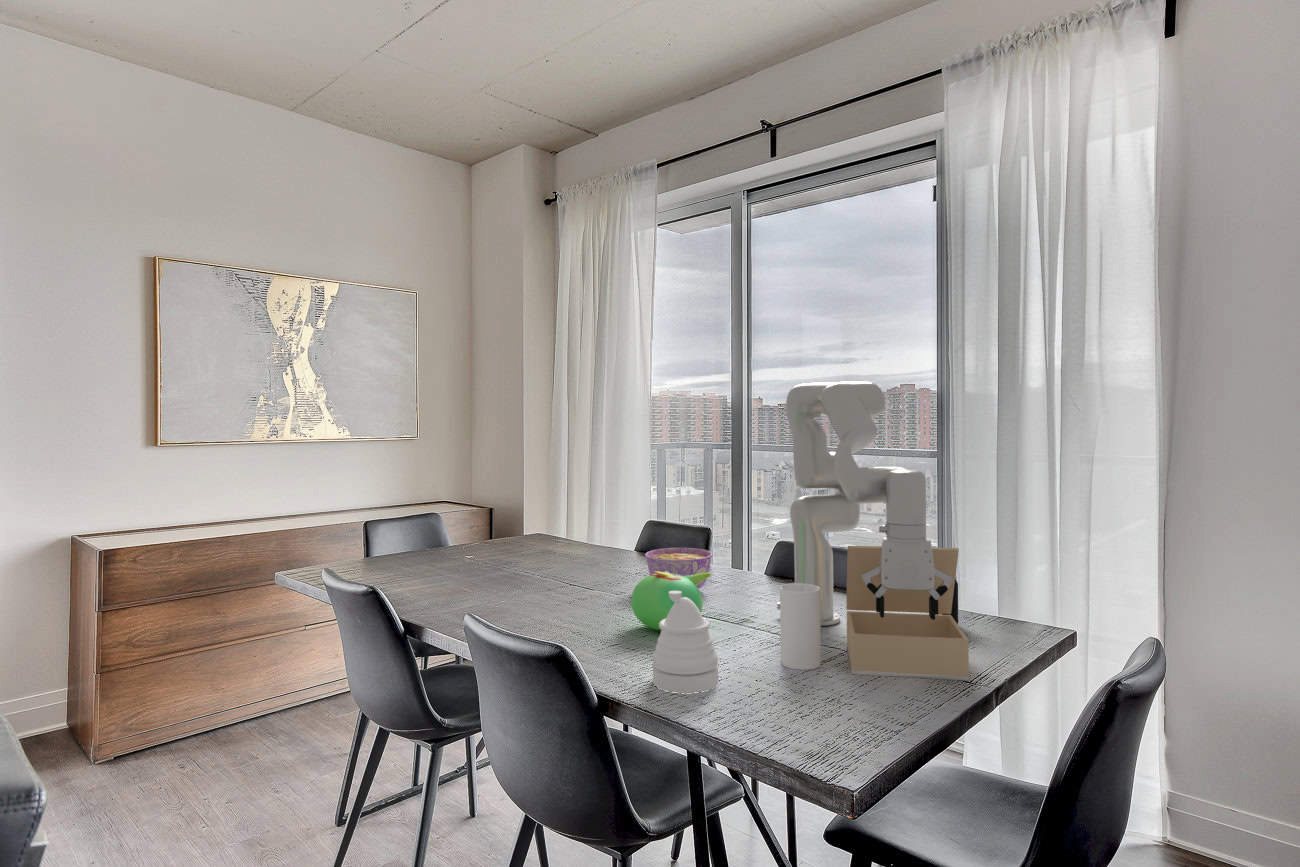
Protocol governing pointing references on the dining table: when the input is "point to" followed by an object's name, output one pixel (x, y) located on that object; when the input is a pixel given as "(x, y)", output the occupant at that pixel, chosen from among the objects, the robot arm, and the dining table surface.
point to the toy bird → (663, 595)
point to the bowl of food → (679, 561)
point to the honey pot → (684, 650)
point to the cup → (800, 626)
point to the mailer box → (907, 646)
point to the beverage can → (954, 604)
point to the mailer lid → (896, 599)
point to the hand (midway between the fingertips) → (906, 616)
